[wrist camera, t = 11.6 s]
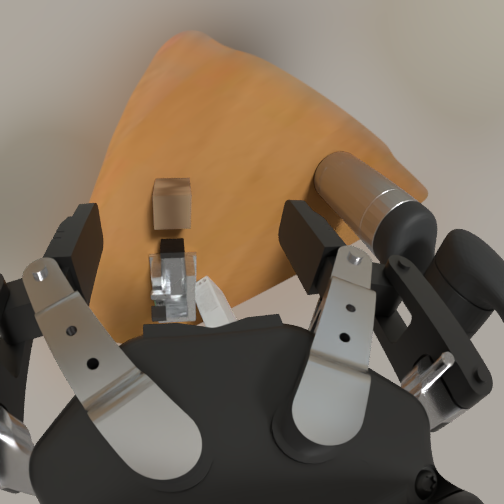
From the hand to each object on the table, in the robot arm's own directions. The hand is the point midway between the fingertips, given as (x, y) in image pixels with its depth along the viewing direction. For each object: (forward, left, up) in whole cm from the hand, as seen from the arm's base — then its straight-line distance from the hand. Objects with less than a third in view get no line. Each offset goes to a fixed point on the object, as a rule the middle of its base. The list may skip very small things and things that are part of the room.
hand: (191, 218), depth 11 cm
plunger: (+2, +23, -26) cm, 35 cm away
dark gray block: (+4, +29, -22) cm, 37 cm away
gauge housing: (+1, +28, -28) cm, 40 cm away
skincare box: (-5, +32, -28) cm, 43 cm away
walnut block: (+1, +12, -28) cm, 31 cm away
